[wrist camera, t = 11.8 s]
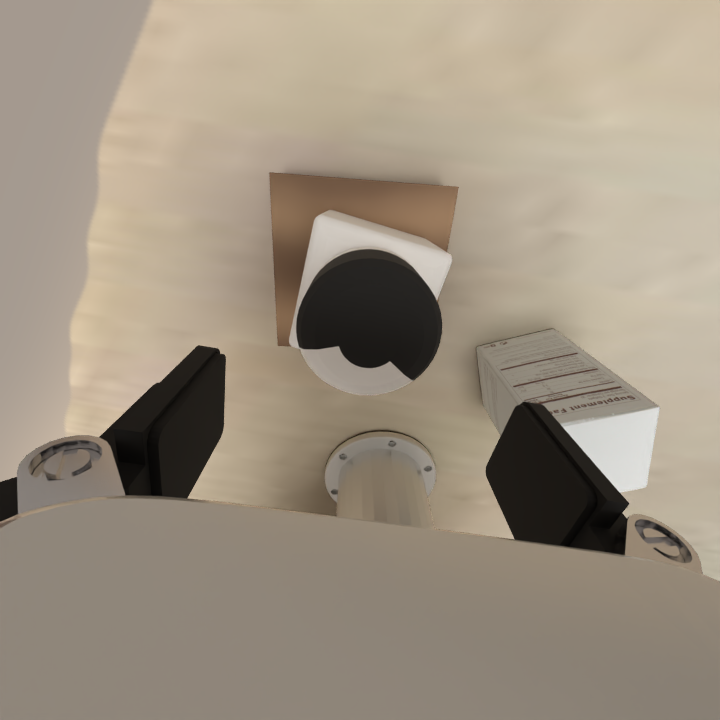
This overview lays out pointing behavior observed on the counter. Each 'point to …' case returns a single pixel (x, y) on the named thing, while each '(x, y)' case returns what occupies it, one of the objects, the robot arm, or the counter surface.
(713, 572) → the counter surface
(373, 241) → the medicine bottle
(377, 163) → the counter surface
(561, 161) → the counter surface
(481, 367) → the supplement box
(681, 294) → the counter surface
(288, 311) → the walnut block
